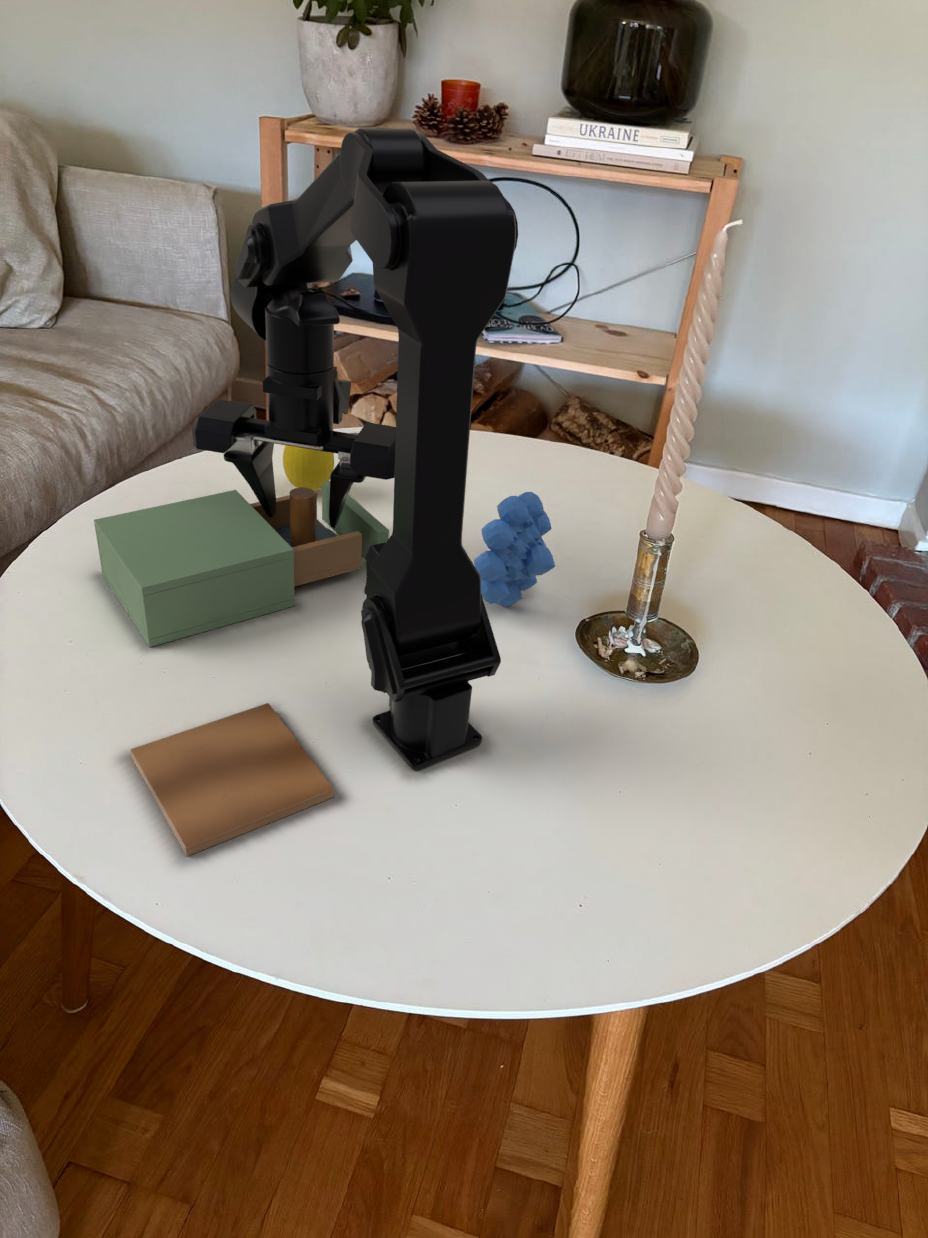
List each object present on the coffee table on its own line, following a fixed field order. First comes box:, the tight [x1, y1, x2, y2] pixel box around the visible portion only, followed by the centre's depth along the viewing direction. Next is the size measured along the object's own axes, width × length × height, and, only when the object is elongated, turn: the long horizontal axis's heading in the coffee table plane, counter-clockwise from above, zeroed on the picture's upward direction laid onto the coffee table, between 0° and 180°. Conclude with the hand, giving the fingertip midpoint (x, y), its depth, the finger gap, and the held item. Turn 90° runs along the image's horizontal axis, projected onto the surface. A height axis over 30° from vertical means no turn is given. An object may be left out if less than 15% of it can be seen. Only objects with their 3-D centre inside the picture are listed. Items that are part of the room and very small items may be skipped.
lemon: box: [282, 445, 335, 491], centre depth 104 cm, size 6×6×8 cm
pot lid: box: [275, 487, 338, 547], centre depth 92 cm, size 7×7×6 cm
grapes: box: [473, 491, 556, 608], centre depth 88 cm, size 12×7×12 cm, turn 148°
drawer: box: [249, 480, 390, 588], centre depth 93 cm, size 14×11×4 cm
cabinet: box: [93, 489, 296, 648], centre depth 87 cm, size 14×13×6 cm
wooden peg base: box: [129, 702, 335, 857], centre depth 70 cm, size 11×11×1 cm
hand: (302, 520), depth 92 cm, fingers open, 6 cm apart
